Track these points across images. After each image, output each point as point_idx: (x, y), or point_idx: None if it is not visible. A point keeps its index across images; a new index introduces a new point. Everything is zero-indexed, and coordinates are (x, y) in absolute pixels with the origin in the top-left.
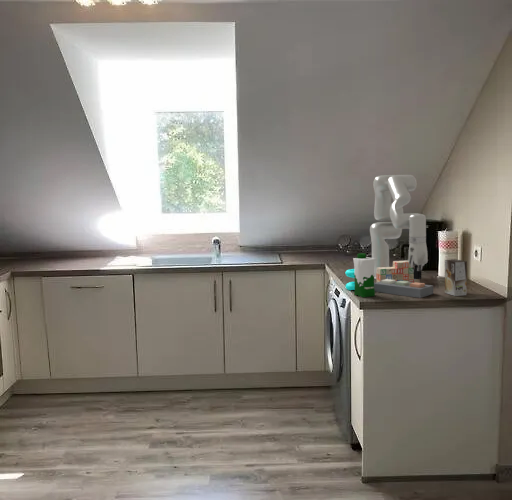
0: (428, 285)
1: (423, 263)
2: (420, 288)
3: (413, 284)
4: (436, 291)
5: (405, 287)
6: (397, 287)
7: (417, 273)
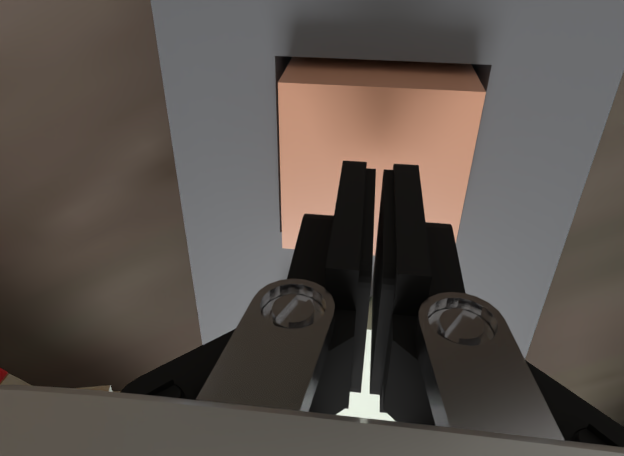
0: (193, 44)
1: (312, 427)
2: (554, 17)
3: (463, 201)
4: (20, 4)
5: (559, 250)
6: (525, 339)
7: (452, 275)
